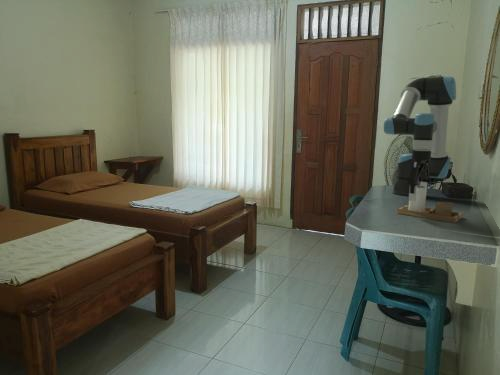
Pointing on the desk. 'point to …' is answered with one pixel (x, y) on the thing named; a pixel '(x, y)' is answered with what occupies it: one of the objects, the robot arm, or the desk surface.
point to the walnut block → (444, 208)
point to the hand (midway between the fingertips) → (417, 198)
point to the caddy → (430, 214)
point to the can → (418, 200)
